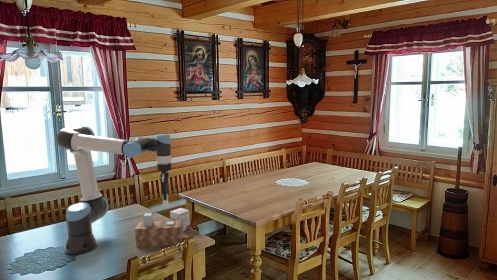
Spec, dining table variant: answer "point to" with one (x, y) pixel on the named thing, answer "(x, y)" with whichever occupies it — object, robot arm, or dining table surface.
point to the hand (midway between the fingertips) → (165, 205)
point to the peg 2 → (170, 223)
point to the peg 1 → (148, 220)
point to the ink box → (181, 217)
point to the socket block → (159, 234)
